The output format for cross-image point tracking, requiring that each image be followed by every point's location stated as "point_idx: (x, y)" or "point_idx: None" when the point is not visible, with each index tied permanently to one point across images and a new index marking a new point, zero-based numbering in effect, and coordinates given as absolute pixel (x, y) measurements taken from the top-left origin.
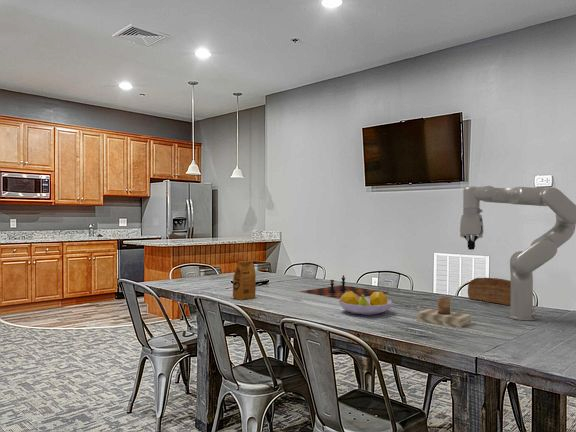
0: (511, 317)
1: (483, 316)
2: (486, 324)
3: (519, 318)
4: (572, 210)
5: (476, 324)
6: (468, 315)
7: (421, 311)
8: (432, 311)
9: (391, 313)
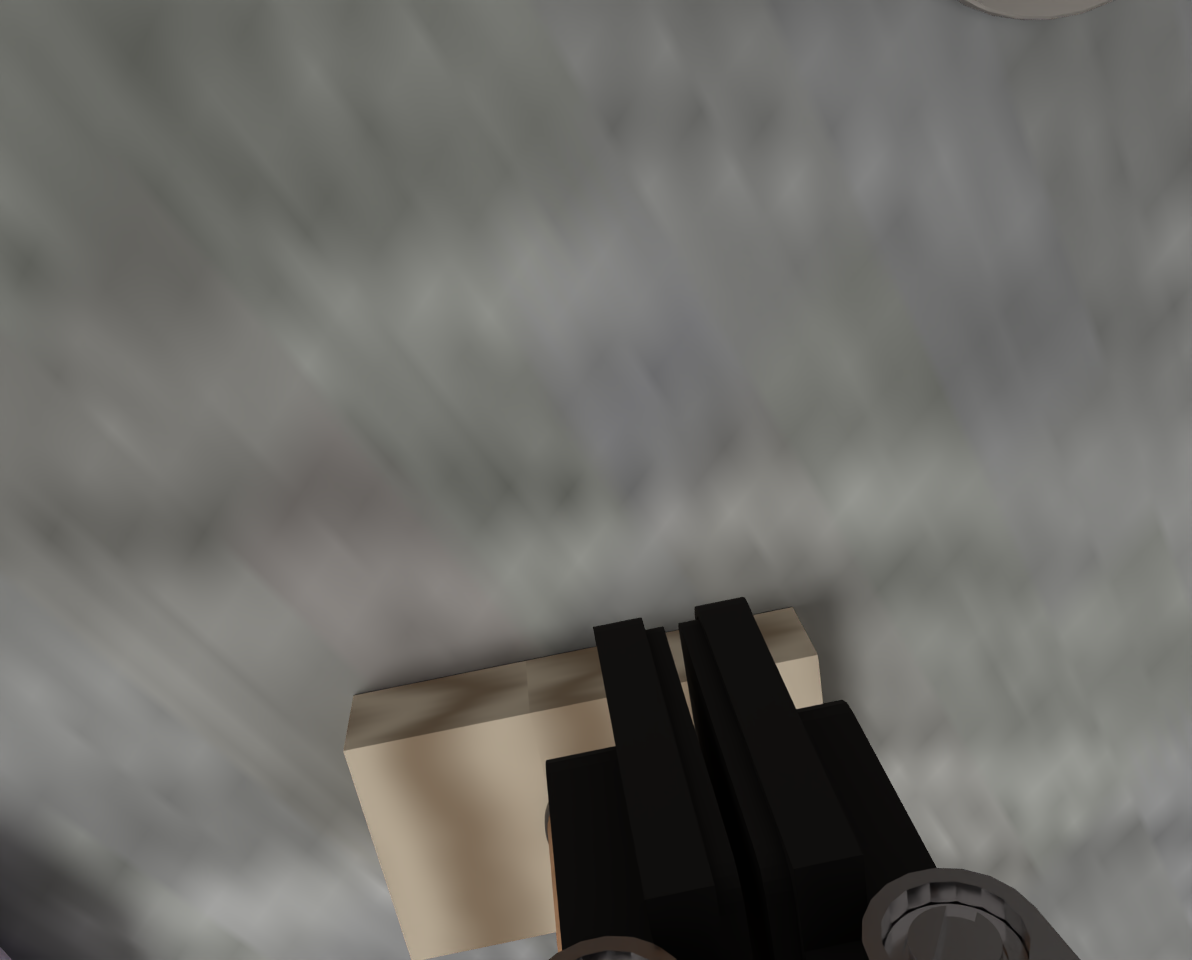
0: (990, 13)
1: (680, 165)
2: (905, 513)
3: (1092, 8)
4: None
5: (840, 590)
6: (818, 703)
7: (410, 913)
8: (472, 834)
9: (10, 869)
